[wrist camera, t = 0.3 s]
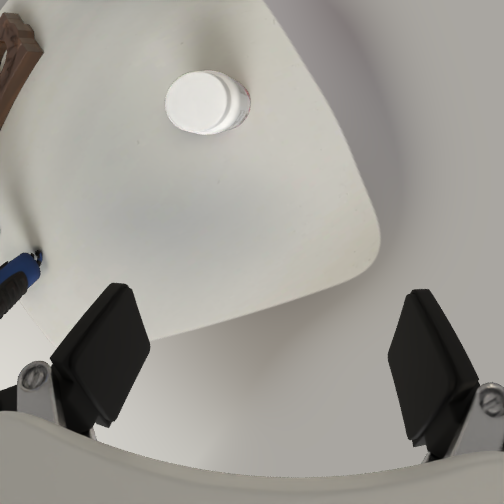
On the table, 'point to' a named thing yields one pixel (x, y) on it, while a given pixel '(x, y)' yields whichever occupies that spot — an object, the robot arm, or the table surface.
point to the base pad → (15, 59)
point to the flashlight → (17, 278)
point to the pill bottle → (207, 102)
